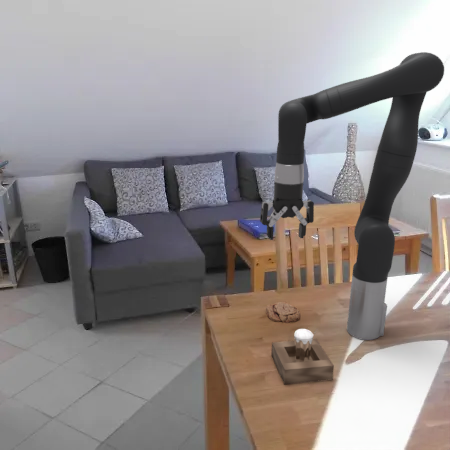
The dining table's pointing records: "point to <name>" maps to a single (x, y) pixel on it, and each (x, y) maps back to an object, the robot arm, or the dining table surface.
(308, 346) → the milkshake
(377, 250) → the robot arm
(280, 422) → the dining table surface
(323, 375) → the socket block
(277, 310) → the cookie
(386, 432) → the dining table surface
